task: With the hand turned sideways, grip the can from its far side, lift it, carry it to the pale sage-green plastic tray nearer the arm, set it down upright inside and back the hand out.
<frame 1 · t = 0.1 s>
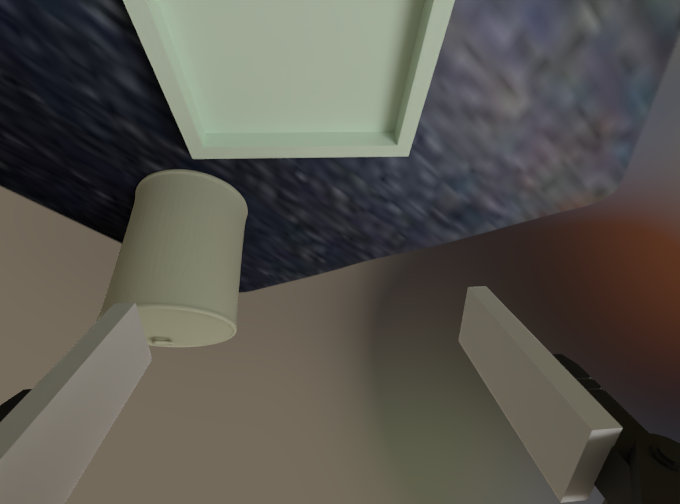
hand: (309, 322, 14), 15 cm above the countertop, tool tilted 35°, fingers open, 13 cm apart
can: (195, 203, 30), on the countertop
tray: (296, 26, 18), on the countertop
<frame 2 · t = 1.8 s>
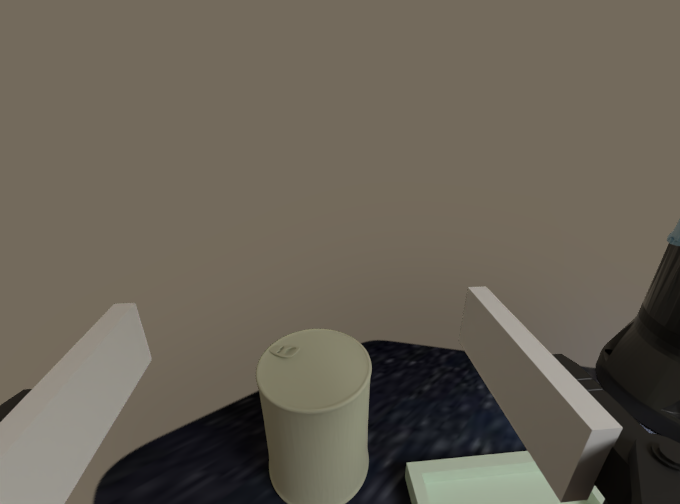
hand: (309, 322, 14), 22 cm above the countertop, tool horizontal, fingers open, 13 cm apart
can: (319, 459, 32), on the countertop
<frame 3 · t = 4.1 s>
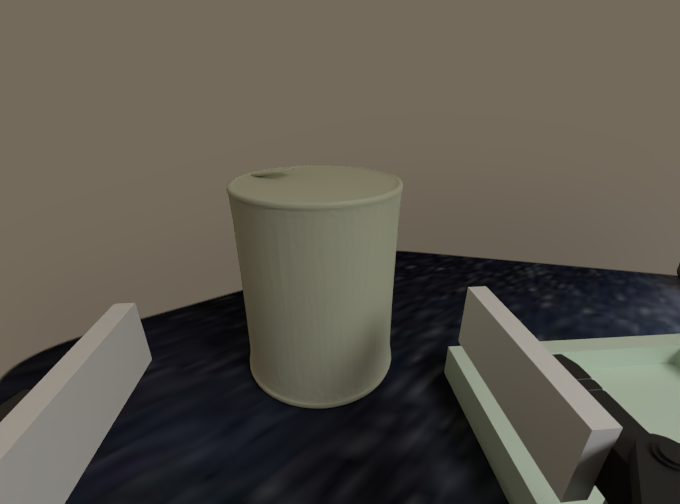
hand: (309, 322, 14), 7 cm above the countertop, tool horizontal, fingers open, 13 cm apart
can: (321, 354, 23), on the countertop
tray: (677, 489, 14), on the countertop
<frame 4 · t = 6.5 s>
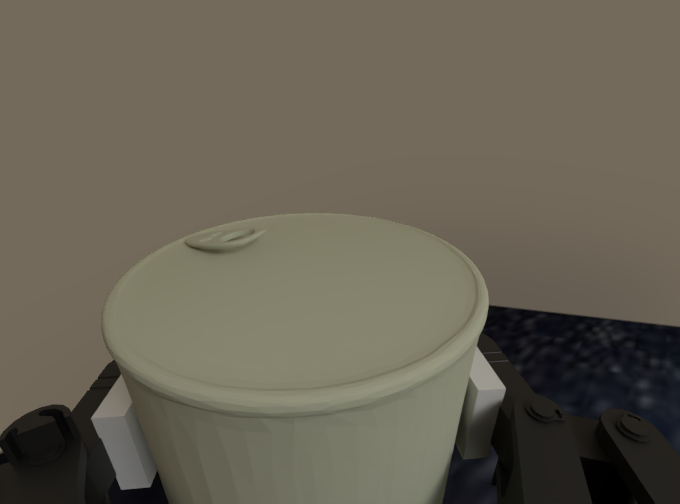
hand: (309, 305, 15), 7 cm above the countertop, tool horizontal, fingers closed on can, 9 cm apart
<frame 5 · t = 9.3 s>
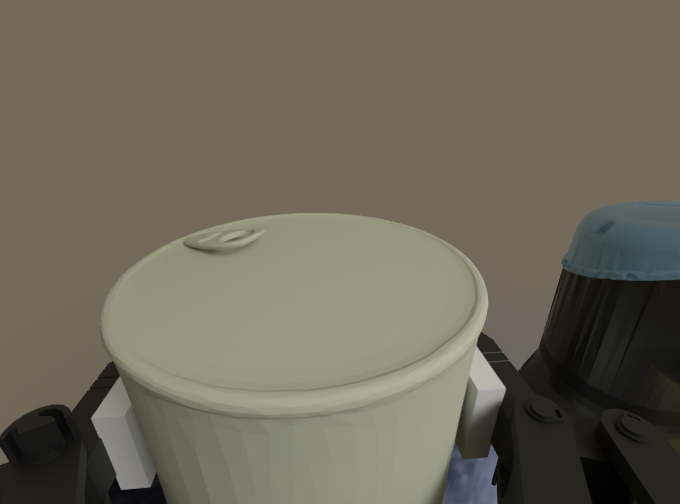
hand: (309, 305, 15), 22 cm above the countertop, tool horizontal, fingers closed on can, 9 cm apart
when the fingers open (9 cm above the countertop, at t = 12.4 s): can drops 1 cm, resting on tray.
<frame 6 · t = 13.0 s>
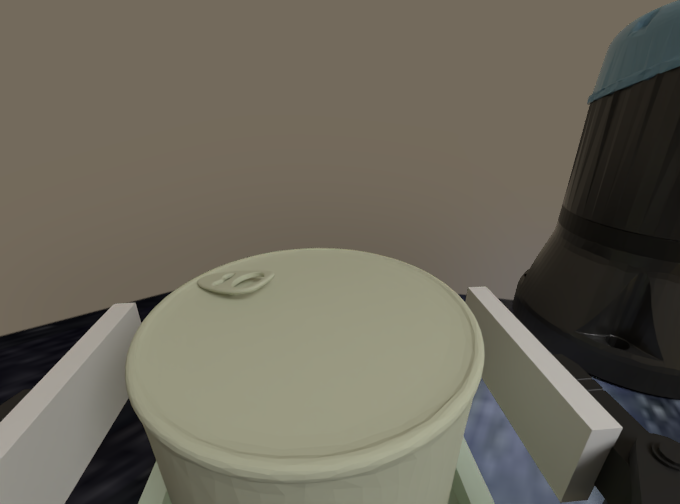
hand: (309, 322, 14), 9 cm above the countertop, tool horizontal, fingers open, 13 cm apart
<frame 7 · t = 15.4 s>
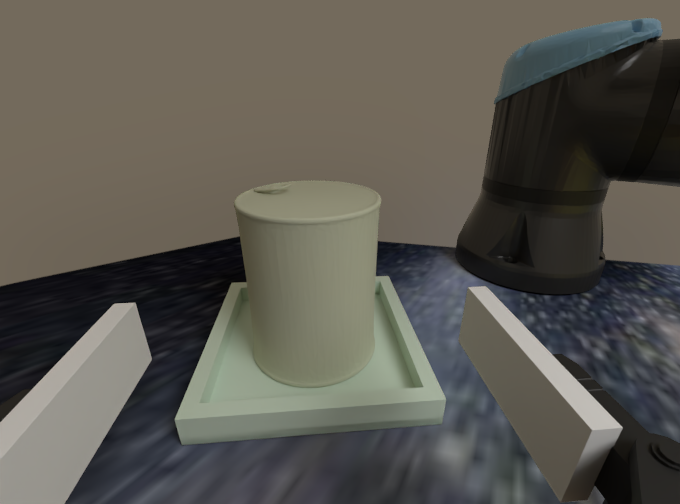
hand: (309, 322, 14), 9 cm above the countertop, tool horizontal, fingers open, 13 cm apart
can: (314, 344, 26), resting on tray
tray: (313, 347, 26), on the countertop
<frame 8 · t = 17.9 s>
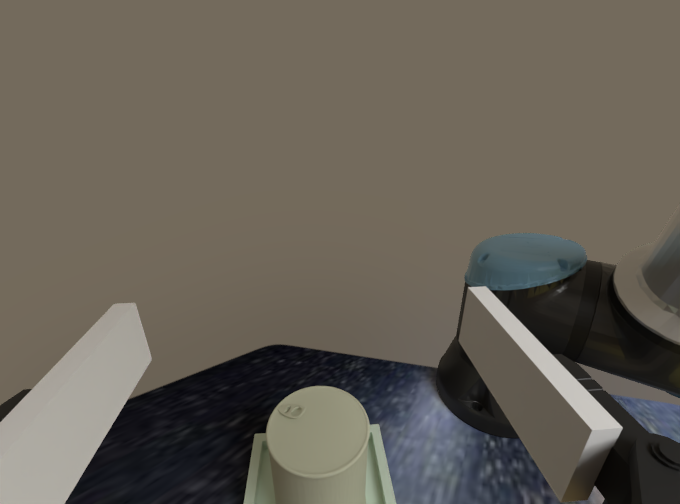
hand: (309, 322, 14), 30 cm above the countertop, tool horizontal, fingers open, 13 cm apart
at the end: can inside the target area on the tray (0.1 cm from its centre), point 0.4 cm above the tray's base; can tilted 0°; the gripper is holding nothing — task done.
